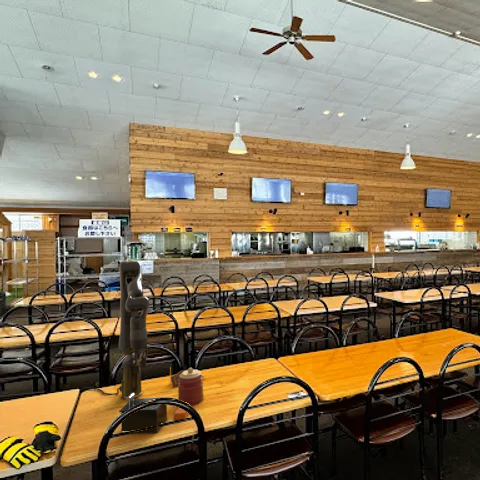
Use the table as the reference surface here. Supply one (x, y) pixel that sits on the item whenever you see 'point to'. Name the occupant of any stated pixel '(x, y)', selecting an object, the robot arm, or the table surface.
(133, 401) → the bin lid
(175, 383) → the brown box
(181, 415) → the block
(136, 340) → the robot arm
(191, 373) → the kitchen canister
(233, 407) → the table surface
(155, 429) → the trash bin
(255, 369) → the table surface
